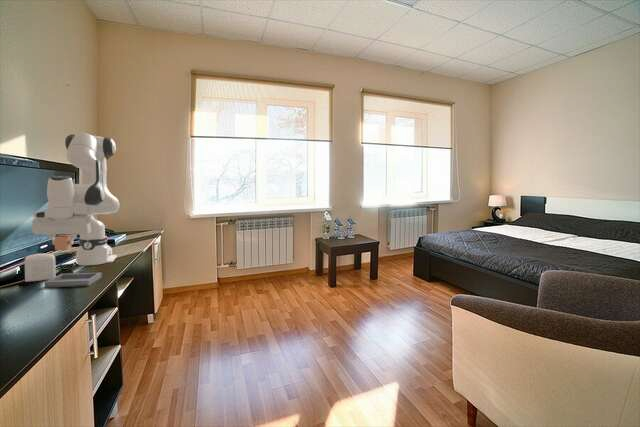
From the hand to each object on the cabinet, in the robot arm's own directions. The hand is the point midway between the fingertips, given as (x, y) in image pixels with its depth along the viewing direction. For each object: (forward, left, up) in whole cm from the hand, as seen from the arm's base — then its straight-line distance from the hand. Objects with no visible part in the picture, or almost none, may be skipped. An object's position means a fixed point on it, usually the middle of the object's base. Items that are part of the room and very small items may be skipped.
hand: (63, 244), depth 125 cm
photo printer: (-9, -13, -19) cm, 24 cm away
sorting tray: (-3, +3, -18) cm, 19 cm away
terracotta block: (0, 0, -2) cm, 2 cm away
